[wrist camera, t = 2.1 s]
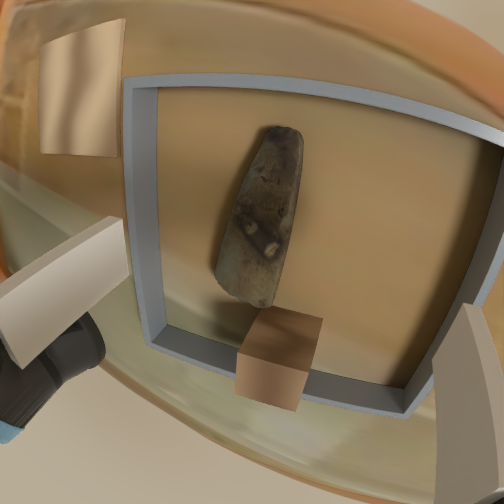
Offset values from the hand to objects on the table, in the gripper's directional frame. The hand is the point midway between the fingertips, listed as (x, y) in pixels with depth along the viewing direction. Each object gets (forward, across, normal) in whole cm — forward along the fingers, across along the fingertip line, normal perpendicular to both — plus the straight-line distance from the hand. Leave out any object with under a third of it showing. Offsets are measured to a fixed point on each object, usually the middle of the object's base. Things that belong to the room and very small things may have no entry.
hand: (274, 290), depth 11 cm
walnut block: (+11, 0, -12) cm, 17 cm away
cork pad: (+11, -22, +7) cm, 26 cm away
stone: (+11, +1, 0) cm, 11 cm away
